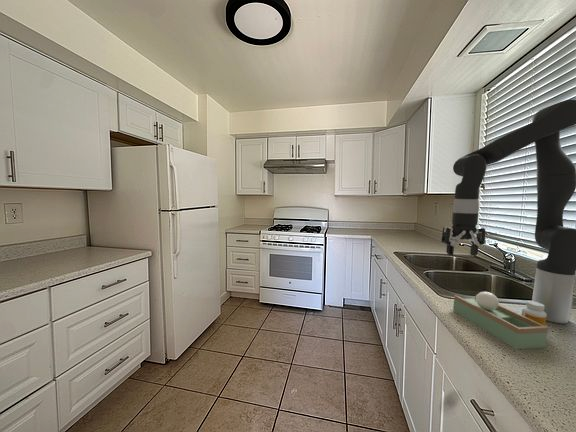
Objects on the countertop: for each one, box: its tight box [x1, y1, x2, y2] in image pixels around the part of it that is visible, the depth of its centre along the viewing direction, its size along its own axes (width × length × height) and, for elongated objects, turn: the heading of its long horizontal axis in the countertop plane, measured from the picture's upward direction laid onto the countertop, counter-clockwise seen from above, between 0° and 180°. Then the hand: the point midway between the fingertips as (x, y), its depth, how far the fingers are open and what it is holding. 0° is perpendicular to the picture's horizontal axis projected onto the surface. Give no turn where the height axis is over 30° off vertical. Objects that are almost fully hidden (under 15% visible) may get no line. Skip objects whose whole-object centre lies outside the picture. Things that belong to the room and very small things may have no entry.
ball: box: [476, 291, 500, 310], centre depth 81 cm, size 6×6×6 cm
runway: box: [452, 294, 549, 350], centre depth 78 cm, size 10×22×6 cm, turn 8°
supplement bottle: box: [521, 300, 547, 326], centre depth 76 cm, size 5×5×10 cm
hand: (461, 255), depth 88 cm, fingers open, 8 cm apart
